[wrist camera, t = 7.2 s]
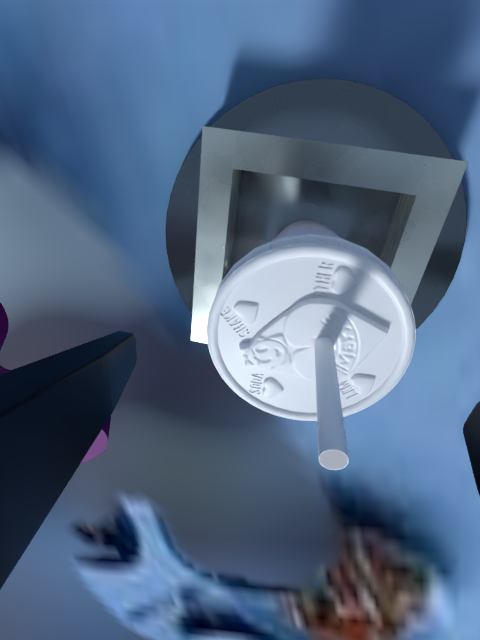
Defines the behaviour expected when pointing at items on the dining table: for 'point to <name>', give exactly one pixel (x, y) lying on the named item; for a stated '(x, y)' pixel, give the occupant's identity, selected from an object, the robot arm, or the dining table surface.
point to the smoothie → (312, 331)
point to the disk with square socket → (318, 188)
